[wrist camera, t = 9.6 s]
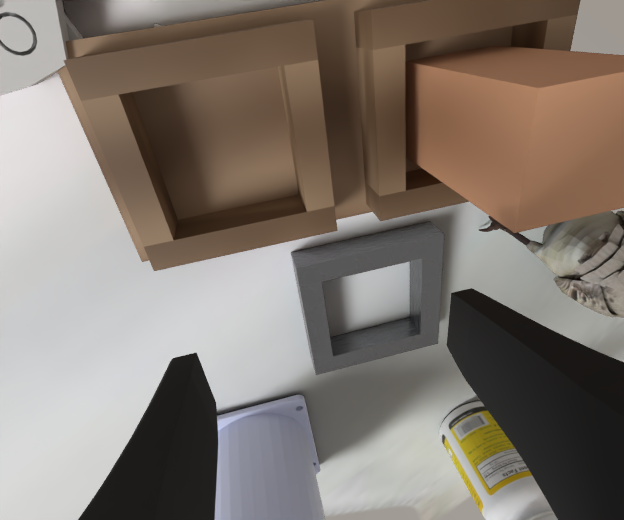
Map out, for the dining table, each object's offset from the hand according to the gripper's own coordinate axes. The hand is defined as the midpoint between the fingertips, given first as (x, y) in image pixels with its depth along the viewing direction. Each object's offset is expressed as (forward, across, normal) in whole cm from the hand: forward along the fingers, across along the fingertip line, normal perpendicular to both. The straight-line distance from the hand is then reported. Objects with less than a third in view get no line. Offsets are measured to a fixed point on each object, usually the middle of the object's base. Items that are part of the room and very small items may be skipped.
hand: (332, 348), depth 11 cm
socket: (+10, -4, +7) cm, 13 cm away
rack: (+10, -3, -4) cm, 11 cm away
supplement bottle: (+11, -12, +22) cm, 28 cm away
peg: (+9, -8, -4) cm, 13 cm away
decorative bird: (+11, -18, +6) cm, 22 cm away
